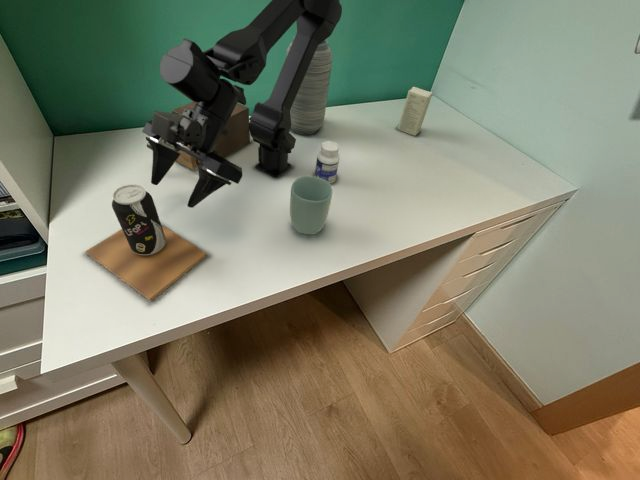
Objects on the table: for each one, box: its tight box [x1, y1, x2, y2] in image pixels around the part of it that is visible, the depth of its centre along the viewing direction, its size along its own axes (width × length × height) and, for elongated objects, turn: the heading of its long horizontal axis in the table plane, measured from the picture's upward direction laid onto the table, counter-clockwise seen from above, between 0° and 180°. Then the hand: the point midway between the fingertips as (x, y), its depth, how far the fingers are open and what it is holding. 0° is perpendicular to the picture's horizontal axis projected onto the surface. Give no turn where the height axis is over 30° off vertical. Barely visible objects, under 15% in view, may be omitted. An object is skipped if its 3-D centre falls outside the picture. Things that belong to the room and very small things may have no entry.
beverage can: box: [111, 184, 166, 255], centre depth 54 cm, size 6×6×12 cm
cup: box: [289, 175, 333, 235], centre depth 64 cm, size 8×8×10 cm
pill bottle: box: [314, 140, 340, 184], centre depth 77 cm, size 5×5×9 cm
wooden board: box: [85, 224, 208, 302], centre depth 58 cm, size 16×12×1 cm
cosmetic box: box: [397, 86, 433, 137], centre depth 98 cm, size 6×4×12 cm
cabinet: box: [171, 101, 251, 159], centre depth 81 cm, size 14×11×10 cm
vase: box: [285, 35, 334, 135], centre depth 88 cm, size 12×12×23 cm
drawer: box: [146, 141, 203, 171], centre depth 76 cm, size 17×10×8 cm, turn 148°
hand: (171, 195), depth 57 cm, fingers open, 9 cm apart
